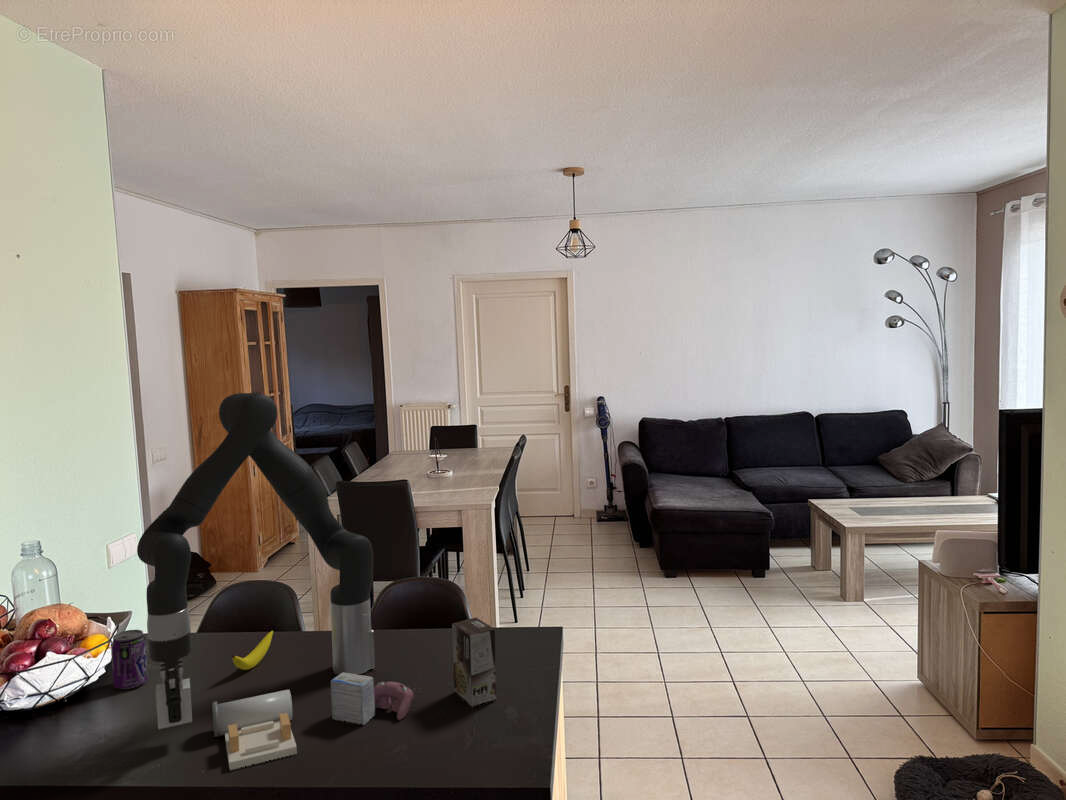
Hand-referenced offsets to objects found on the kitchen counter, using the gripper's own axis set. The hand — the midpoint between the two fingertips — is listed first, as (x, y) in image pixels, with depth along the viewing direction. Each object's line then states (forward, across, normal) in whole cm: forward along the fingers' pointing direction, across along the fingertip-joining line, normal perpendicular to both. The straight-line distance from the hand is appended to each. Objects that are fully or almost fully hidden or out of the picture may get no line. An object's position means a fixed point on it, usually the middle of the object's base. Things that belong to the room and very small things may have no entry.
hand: (175, 715), depth 147 cm
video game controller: (+7, -7, -41) cm, 42 cm away
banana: (+6, +32, -18) cm, 37 cm away
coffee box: (+7, -9, -60) cm, 61 cm away
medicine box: (+7, -6, -33) cm, 35 cm away
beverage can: (+6, +34, +9) cm, 36 cm away
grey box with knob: (+1, 0, 0) cm, 1 cm away
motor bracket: (+6, -6, -14) cm, 16 cm away
